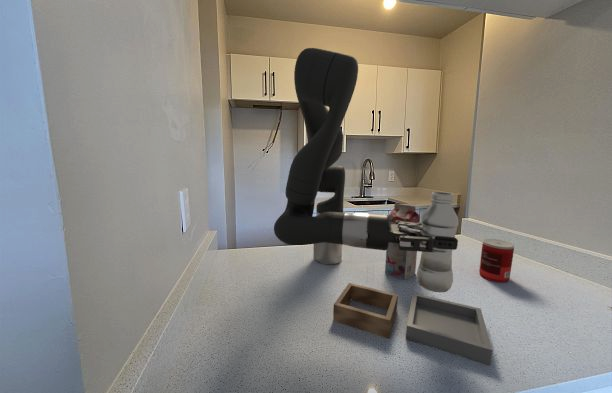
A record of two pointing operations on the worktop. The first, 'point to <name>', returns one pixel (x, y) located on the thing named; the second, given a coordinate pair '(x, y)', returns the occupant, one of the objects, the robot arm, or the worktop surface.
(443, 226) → the plastic bottle
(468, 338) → the tray
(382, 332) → the open wooden box
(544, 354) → the worktop surface
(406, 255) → the juice carton
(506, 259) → the canned food
